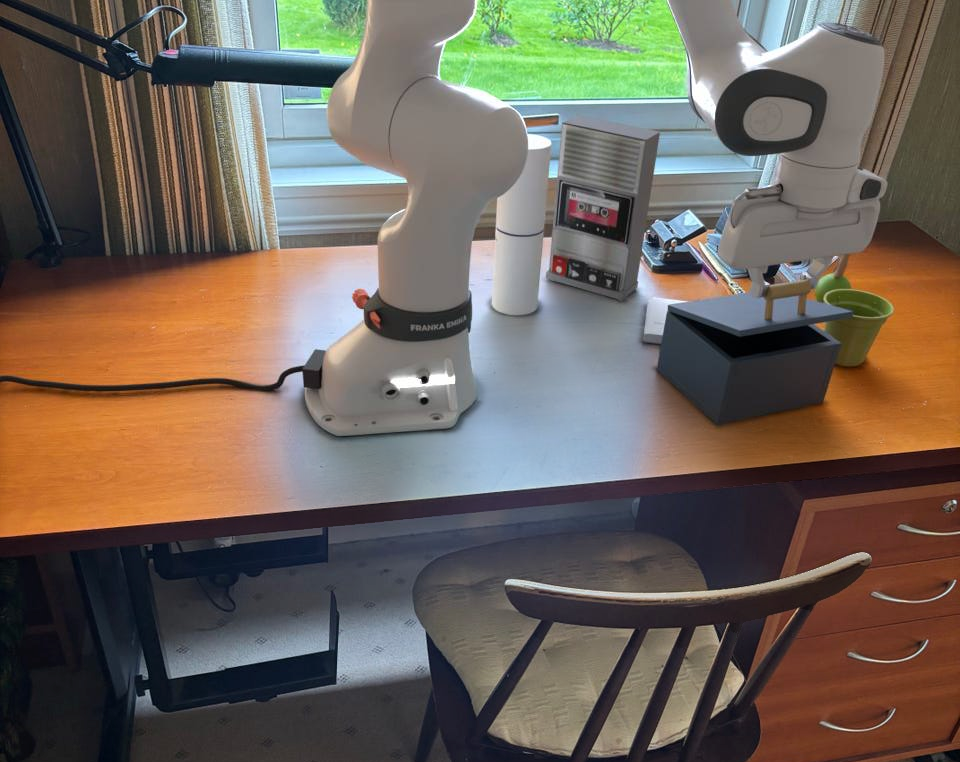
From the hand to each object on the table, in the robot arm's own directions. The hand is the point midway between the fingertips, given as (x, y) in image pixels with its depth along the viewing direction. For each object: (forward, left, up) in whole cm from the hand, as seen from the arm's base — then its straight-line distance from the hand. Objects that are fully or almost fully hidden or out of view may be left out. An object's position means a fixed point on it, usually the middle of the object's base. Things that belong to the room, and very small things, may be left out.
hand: (782, 291), depth 113 cm
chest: (0, +4, -16) cm, 16 cm away
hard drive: (0, +22, -16) cm, 27 cm away
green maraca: (+28, +20, -16) cm, 38 cm away
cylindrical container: (-20, +36, -16) cm, 44 cm away
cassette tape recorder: (-5, +39, -16) cm, 42 cm away
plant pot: (+19, +6, -16) cm, 26 cm away
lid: (0, +4, -5) cm, 6 cm away
